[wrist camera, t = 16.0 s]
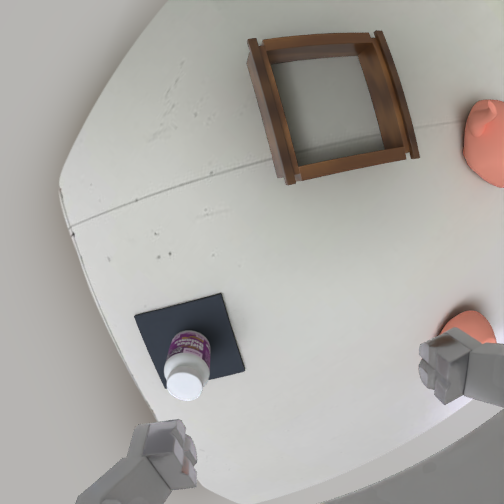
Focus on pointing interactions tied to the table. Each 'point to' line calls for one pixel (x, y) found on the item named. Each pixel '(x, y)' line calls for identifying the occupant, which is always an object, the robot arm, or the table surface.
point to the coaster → (196, 319)
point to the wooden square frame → (379, 84)
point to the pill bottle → (187, 365)
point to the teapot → (486, 141)
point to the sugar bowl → (472, 326)
